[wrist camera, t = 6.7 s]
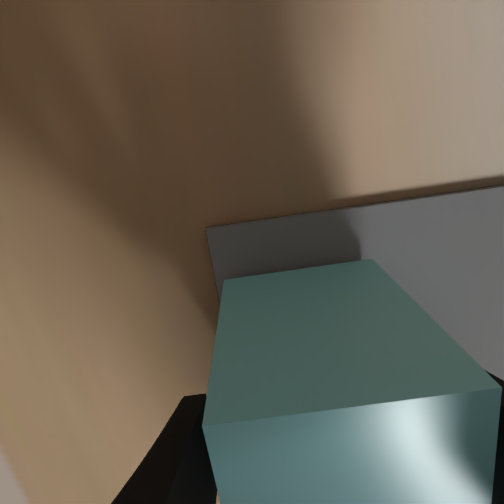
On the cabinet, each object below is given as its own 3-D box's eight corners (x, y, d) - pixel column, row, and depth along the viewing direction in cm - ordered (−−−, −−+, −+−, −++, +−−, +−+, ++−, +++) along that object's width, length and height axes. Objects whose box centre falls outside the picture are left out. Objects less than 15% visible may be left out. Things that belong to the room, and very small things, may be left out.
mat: (509, 492, 17) (514, 497, 17) (262, 521, 17) (262, 527, 17) (546, 178, 12) (553, 179, 12) (206, 227, 13) (205, 229, 12)
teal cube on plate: (377, 381, 14) (483, 584, 8) (246, 399, 14) (246, 610, 8) (371, 258, 12) (501, 387, 6) (224, 279, 12) (201, 426, 6)
